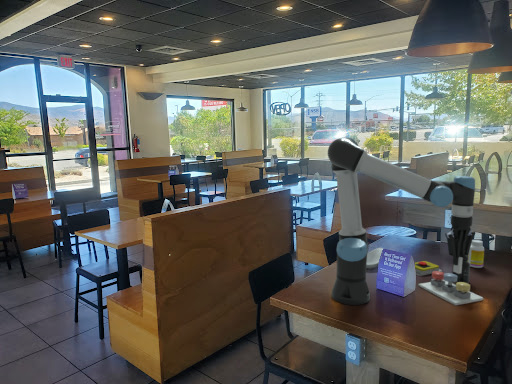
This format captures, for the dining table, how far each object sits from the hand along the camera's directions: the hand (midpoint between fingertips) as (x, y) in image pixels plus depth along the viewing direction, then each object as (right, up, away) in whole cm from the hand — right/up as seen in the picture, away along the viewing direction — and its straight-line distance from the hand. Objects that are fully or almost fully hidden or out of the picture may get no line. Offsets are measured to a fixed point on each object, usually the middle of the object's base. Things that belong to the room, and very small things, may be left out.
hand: (457, 272), depth 155 cm
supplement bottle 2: (+28, -5, +36) cm, 46 cm away
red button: (-3, -6, +11) cm, 13 cm away
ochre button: (+1, -8, -2) cm, 9 cm away
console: (-1, -10, +5) cm, 11 cm away
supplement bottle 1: (+10, -8, +17) cm, 21 cm away
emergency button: (0, -6, +31) cm, 32 cm away
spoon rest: (-21, -5, +41) cm, 46 cm away
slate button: (-1, -6, +4) cm, 7 cm away
